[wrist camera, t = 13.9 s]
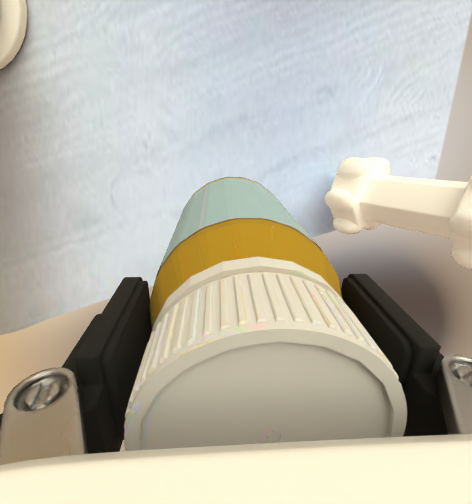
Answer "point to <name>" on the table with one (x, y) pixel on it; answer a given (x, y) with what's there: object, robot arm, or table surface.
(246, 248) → the bottle
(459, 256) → the white bone
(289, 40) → the table surface
